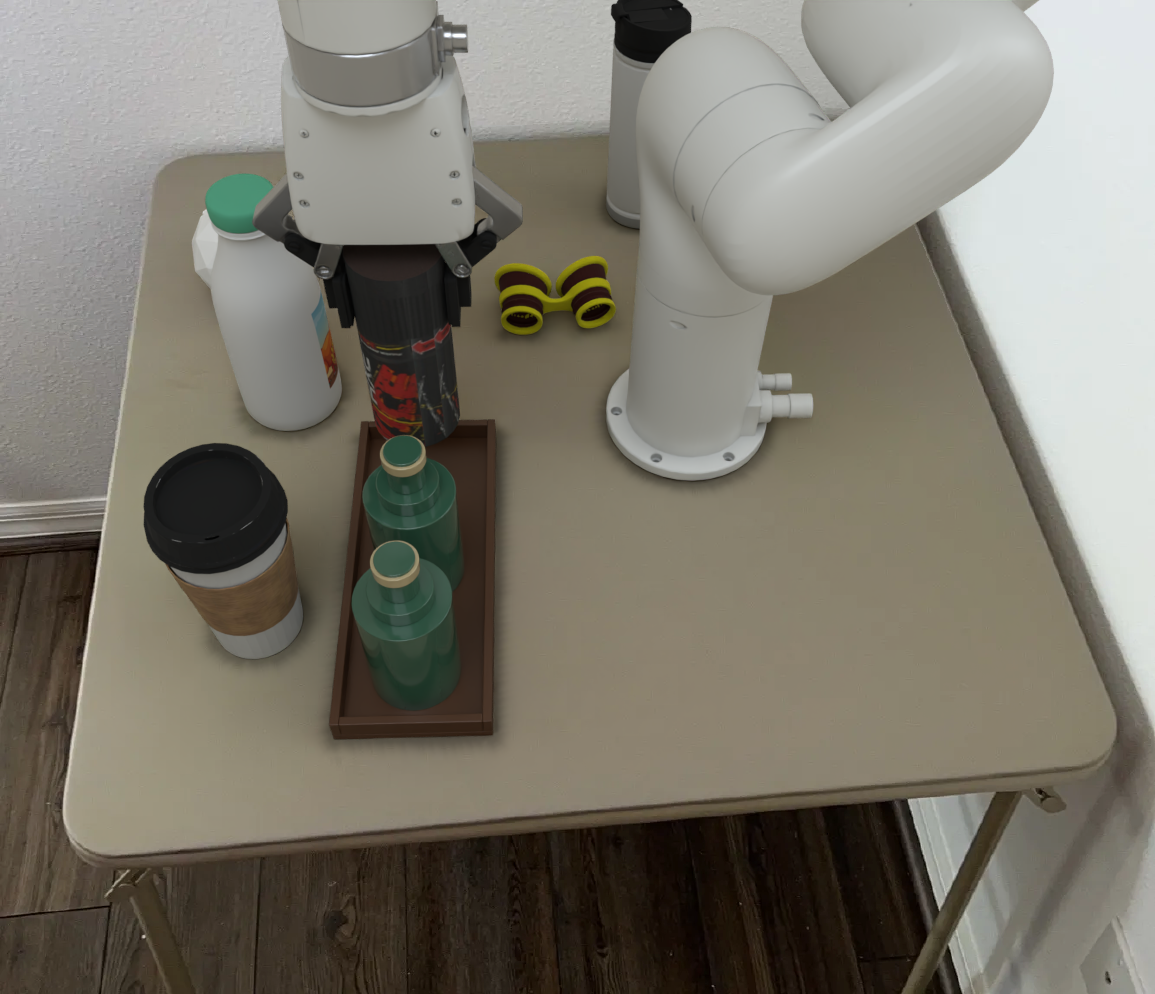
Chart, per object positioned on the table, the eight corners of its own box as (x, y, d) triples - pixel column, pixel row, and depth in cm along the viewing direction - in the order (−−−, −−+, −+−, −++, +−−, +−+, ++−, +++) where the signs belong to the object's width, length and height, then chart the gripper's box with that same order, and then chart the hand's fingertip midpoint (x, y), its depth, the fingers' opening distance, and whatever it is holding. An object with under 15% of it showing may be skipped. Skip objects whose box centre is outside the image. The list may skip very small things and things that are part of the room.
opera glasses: (501, 345, 95) (501, 310, 91) (494, 293, 97) (493, 257, 93) (615, 333, 96) (620, 298, 92) (605, 283, 98) (609, 246, 94)
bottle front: (462, 629, 77) (448, 514, 66) (460, 709, 73) (444, 602, 63) (374, 631, 77) (345, 516, 66) (367, 712, 73) (336, 604, 62)
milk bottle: (324, 441, 87) (274, 238, 71) (230, 425, 88) (159, 221, 72) (356, 370, 92) (315, 164, 76) (266, 355, 93) (206, 149, 77)
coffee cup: (203, 690, 74) (135, 563, 62) (192, 585, 79) (127, 449, 67) (330, 659, 76) (288, 530, 64) (312, 558, 81) (270, 421, 69)
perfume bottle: (338, 285, 95) (286, 221, 102) (282, 206, 88) (230, 143, 95) (253, 346, 94) (207, 276, 102) (190, 271, 87) (144, 202, 94)
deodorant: (477, 415, 79) (464, 247, 67) (412, 462, 76) (386, 296, 64) (421, 371, 81) (399, 201, 69) (357, 415, 79) (322, 246, 67)
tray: (496, 436, 88) (495, 418, 86) (493, 735, 73) (491, 721, 71) (364, 438, 88) (360, 420, 86) (333, 739, 72) (328, 725, 71)
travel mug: (593, 194, 106) (600, -11, 90) (659, 181, 107) (678, -22, 91) (614, 236, 102) (625, 31, 86) (683, 223, 104) (706, 18, 88)
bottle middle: (465, 533, 82) (452, 412, 71) (463, 604, 78) (449, 487, 67) (382, 534, 81) (356, 413, 71) (376, 606, 78) (348, 489, 67)
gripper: (536, 7, 59) (539, 270, 73) (202, 8, 58) (271, 273, 73) (538, 91, 55) (541, 353, 69) (176, 92, 54) (255, 357, 68)
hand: (402, 310), depth 71 cm, fingers closed on deodorant, 6 cm apart
